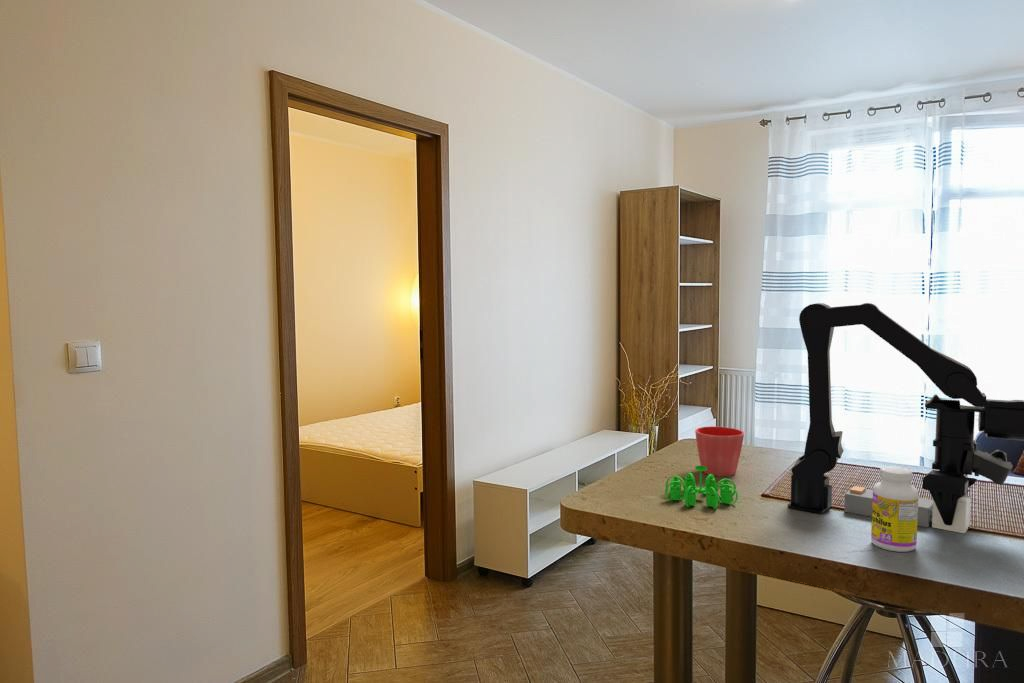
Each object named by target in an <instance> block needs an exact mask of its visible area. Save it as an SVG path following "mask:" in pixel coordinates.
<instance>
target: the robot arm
mask: <svg viewBox="0 0 1024 683" xmlns="http://www.w3.org/2000/svg"><path fill="white" fill-rule="evenodd" d="M798 317H799V318H798V320H799V326H800V330H801V334H802V339H803V342H804V345H805V348H806V351H807V352H806V353H807V375H808V378H807V379H808V401H809V402H808V406H809V426H808V431H807V436H806V439H805V440H806V441H805V448H804V453H803V455H802V456H800V457H799V458H798V459H797V460H796V461H795V463H794V465H793V466H792V467H791V473H792V474H791V475H790V476H791V477H790V480H791V481H790V502H788V504H787V505H786V506H787V508H791V509H795V510H800V511H807V512H811V513H814V514H815V513H816V514H823V513H824V512H826V511H827V510H828V509H830V508H831V507H832V502H833V485H831V484H830V476H827V475H825V474H826V473H830V472H831V471H832V470H833V469H834V468H835V467H836V465H837V463H838V461H839V459H841V457H842V455H843V454H844V451H845V450H844V449H843V445H842V440H843V431H842V430H839V431H836V430H835V427H834V424H833V420H832V419H833V417H832V416H833V415H832V414H833V413H832V386H831V381H832V380H831V354H830V352H831V345H832V342H833V341H832V340H833V335H834V332H835V328H838V327H848V326H849V327H850V326H859V325H862V326H865V327H866V328H868V330H871V332H873V333H874V334H875V335H877V336H878V337H880V338H881V339H882V340H884V341H885V342H887V344H889V345H890V346H892V347H893V348H894V349H895V350H897V351H898V352H899V353H900V354H902V355H904V356H905V357H906V358H907V359H908V360H910V361H911V362H913V363H914V364H915V365H916V366H918V367H919V369H920V370H921V371H922V372H923V373H924V374H925V375H926V377H927V378H928V379H929V380H930V381H931V382H932V383H933V384H934V385H935V387H936V388H937V389H939V391H940V392H941V393H942V394H944V395H945V396H946V397H948V398H951V399H943V398H941V397H940V396H939V395H938V394H933V396H931V398H930V399H929V400H926V402H925V403H924V405H925V406H924V408H925V409H927V410H928V409H929V410H936V418H935V419H936V420H935V439H933V440H932V446H933V447H934V461H933V462H932V463H931V469H932V470H930V471H929V472H928V473H927V474H925V475H924V476H923V477H922V487H921V488H922V489H923V490H925V491H928V492H929V494H930V496H931V498H932V500H934V502H935V504H936V506H937V508H938V511H939V513H940V515H941V517H942V520H943V522H944V524H945V525H950V526H951V525H952V523H953V519H954V515H955V512H956V508H957V504H958V500H959V498H961V497H963V496H965V495H967V494H968V493H969V492H970V489H969V488H971V487H972V486H973V485H974V484H976V482H977V480H978V479H977V478H975V477H979V476H981V477H983V478H985V479H988V480H990V481H992V483H994V484H997V485H1000V486H1003V485H1004V483H1005V482H1006V480H1007V478H1008V476H1009V474H1010V472H1011V470H1012V469H1013V466H1014V465H1013V464H1012V462H1011V461H1008V457H1007V455H1008V454H1007V453H1006V452H1004V451H1002V450H1001V449H996V450H994V451H993V452H991V453H989V452H988V451H985V452H984V451H982V450H979V449H978V442H976V440H975V435H974V434H975V416H976V415H975V414H976V413H978V420H977V423H978V424H977V426H978V427H977V428H978V431H979V432H983V434H984V435H985V438H987V439H1000V440H1013V441H1022V442H1023V441H1024V400H1023V399H1012V400H1005V399H1003V400H1002V399H987V396H986V393H985V392H981V390H980V389H979V387H978V379H977V376H976V374H975V373H974V371H973V370H972V369H971V367H969V366H967V365H966V364H965V363H961V362H960V361H958V360H956V359H954V358H952V357H951V356H948V355H946V354H944V353H942V352H940V351H937V350H936V349H933V348H932V347H930V346H929V345H928V344H927V343H926V342H923V340H921V339H919V338H918V337H917V336H916V335H914V334H913V333H912V332H910V331H909V330H908V329H906V328H905V327H903V326H902V325H901V324H899V323H898V322H897V321H895V320H894V319H892V318H891V317H889V316H888V315H887V314H886V313H884V312H882V310H880V308H879V307H878V306H877V305H876V304H874V303H871V302H866V303H862V304H854V305H843V306H830V305H828V304H826V303H824V302H823V303H821V302H816V303H812V304H809V305H807V306H805V307H803V309H802V310H801V311H800V313H799V316H798ZM958 399H959V400H958ZM960 399H962V400H964V401H966V402H967V403H968V404H970V405H964V404H961V401H960ZM973 474H974V478H973V477H969V476H972V475H973Z"/></svg>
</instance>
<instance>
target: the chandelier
mask: <svg viewBox="0 0 1024 683" xmlns="http://www.w3.org/2000/svg"><path fill="white" fill-rule="evenodd" d="M694 469H695V471H699V487H697V486H696V478H695V477H694V474H693V473H692V472H688V473H687V472H686V474H685V479H683V478H682V477H680V476H678V475H672V476H670V477H668V478H667V479H666V481H665V489H664V495H665V498H666V499H667V500H668V501H669V502H672V501H678V500H681V501H683V500H684V503H685V506H686V507H687V508H690V506H692V505H693V506H695V505H696V504H697V494H704V495H705V498H706V500H705V501H706V502H705V505H706V506H707V507H709V506H710V507H711V508H713V510H716V509H717V508H718V504H719V503H720V504H721V503H724V504H730V505H729V506H733V505H734V504H736V502H737V501H738V497H739V495H738V491H737V486H736V483H735V482H734V481H733V480H732V479H729V478H722V479H720V480H719V481H718V482H716V478H715V475H713V474H707V477H706V478H705V481H704V487H703V484H702V483H703V479H702V478H703V471H706V470H707V467H705V466H701V465H695V468H694ZM672 478H673V479H672ZM670 479H671V480H670ZM669 480H670V482H669ZM729 481H730V482H729ZM731 483H732V485H731ZM669 487H670V488H669ZM682 488H683V492H682ZM718 492H719V493H718ZM667 493H668V494H669V497H668V494H667ZM734 496H735V500H734V501H733V497H734ZM671 500H672V501H671Z"/></svg>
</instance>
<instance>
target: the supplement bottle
mask: <svg viewBox="0 0 1024 683" xmlns="http://www.w3.org/2000/svg"><path fill="white" fill-rule="evenodd" d="M879 470H880V471H879V476H880V480H881V481H878V482H877V483H875V484H874V485H873V487H872V490H873V504H872V517H871V529H870V530H871V532H870V533H871V534H870V536H871V537H870V540H871V542H872V544H873V545H875V547H878V548H880V549H883V550H886V551H890V552H895V553H896V552H898V553H907V552H911V551H913V550H915V549H916V548H917V541H918V526H917V520H918V498H920V496H919V491H918V489H917V488H916V487H915V486H914V485H912V480H913V474H914V473H913V470H911V469H909V468H906V467H899V466H882V467H880V469H879Z"/></svg>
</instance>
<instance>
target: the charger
mask: <svg viewBox="0 0 1024 683" xmlns="http://www.w3.org/2000/svg"><path fill="white" fill-rule="evenodd" d="M971 498H972V496H971V495H967V494H966V495H965V496H963V497H961V498H959V500H958V504H957V508H956V512H955V515H954V519H953V523H952V525H951V526H950V525H945V524H944V522H943V520H942V517H941V515H940V513H939V511H938V508H937V506H936V504H935V502H934V500H933V499H932V500H933V508H931V509H930V516H932V523H931V527H932V528H934V529H940V530H944V531H951V532H955V533H961V534H966V533H967V531H968V529H969V528H970V526H971V525H970V522H971V521H970V519H971V517H970V516H971V500H972V499H971ZM968 527H969V528H968Z"/></svg>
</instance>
